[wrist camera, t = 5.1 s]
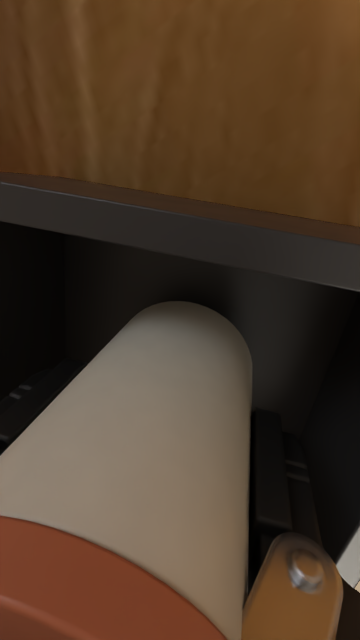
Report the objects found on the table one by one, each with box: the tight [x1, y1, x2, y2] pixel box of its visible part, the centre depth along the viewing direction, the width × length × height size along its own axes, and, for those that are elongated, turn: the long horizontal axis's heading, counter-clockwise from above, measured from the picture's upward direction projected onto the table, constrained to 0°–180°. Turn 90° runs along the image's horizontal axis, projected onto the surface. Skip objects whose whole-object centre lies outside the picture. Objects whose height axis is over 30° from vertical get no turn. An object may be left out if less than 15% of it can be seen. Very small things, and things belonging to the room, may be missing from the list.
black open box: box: [0, 172, 360, 588], centre depth 13 cm, size 16×14×7 cm
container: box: [0, 301, 252, 640], centre depth 8 cm, size 6×6×9 cm
